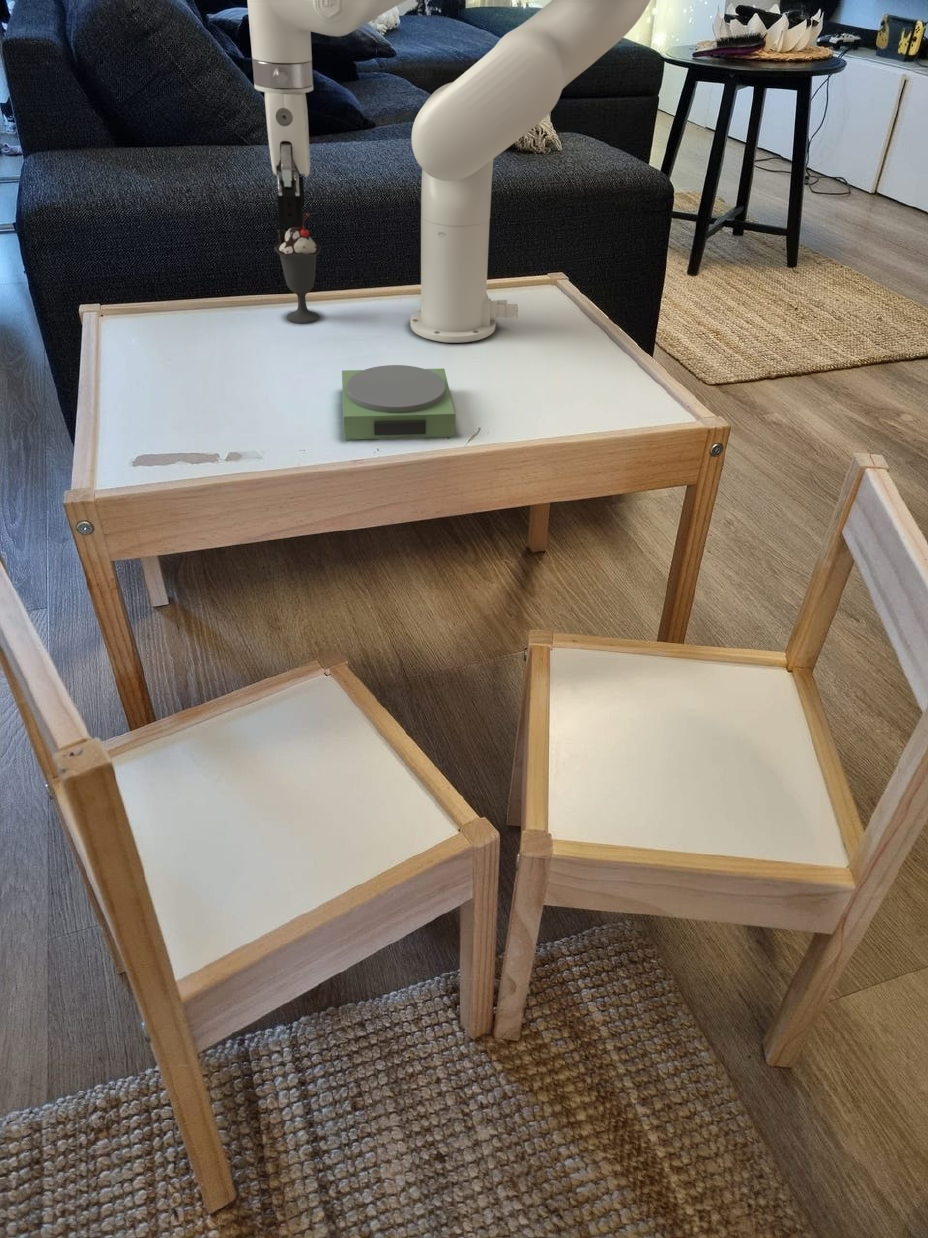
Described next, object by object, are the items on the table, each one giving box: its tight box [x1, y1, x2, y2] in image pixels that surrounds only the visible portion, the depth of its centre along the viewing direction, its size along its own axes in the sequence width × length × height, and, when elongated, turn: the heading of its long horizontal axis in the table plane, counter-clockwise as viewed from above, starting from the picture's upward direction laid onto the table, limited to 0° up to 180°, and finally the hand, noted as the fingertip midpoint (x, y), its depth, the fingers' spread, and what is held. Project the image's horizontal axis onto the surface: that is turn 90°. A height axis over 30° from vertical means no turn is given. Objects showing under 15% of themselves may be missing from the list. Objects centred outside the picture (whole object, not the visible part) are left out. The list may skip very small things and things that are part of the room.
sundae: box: [273, 212, 322, 324], centre depth 133 cm, size 7×7×15 cm
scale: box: [341, 364, 456, 441], centre depth 112 cm, size 13×14×4 cm
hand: (292, 215), depth 129 cm, fingers open, 9 cm apart
